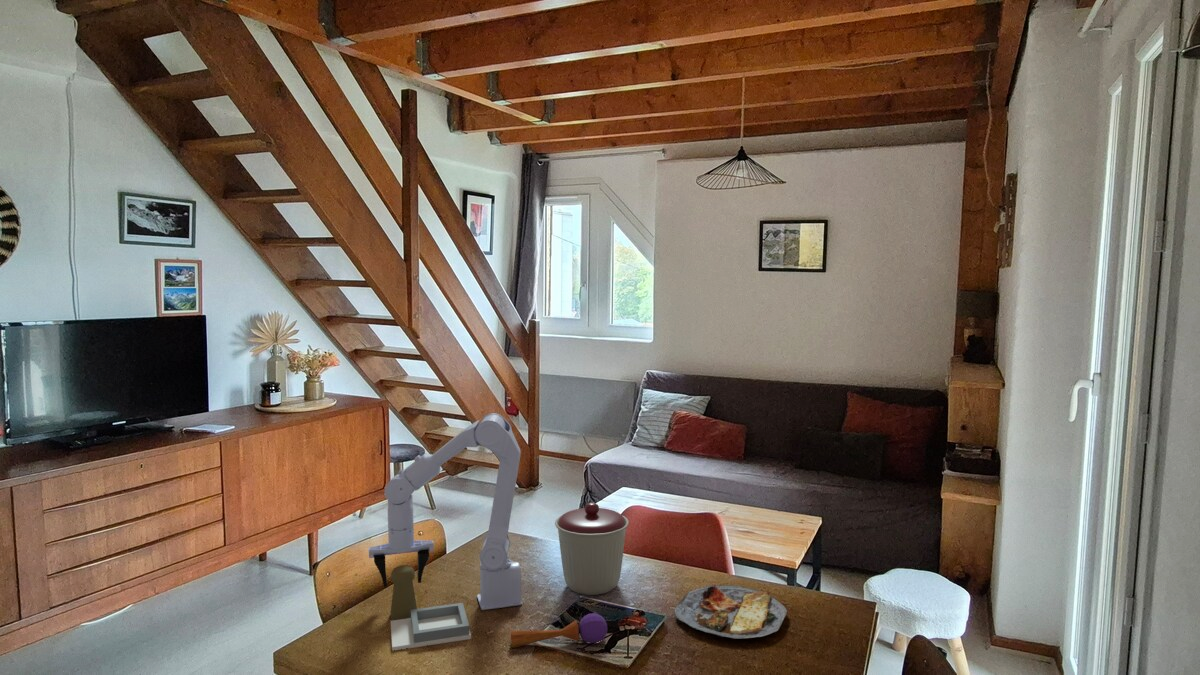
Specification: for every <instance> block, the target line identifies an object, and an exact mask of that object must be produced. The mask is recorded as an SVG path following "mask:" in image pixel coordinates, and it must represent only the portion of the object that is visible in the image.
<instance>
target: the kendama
mask: <svg viewBox="0 0 1200 675" xmlns="http://www.w3.org/2000/svg"><path fill="white" fill-rule="evenodd" d="M607 634H608V623H607V621H606V620H605V618H604V617H603V616H601V615H600V614H598V613H595V612H593V613H588V614H586V615H583V617H582V618H581V620H579V624H578V621H577V619H575V620H573V621H572V622H571V623H569V624H568V625H566V626H565V627H563V628H562V629H549V630H547V629H545V630H543V629H541V630H539V629H538V630H534V629H533V630H510V641H511V642H510V643H511V649H513V648H518V647H522V646H526V645H531V644H534V643H537V642H541V641H546V640H549V639H553V638H557V637H564V638H567V639H569V640H573V641H576V642H579V640H580V637H581V640H583V641H584V642H585V641H586V642H590V643H594V642H599V641H601V640H602V641H604V639H605V638H606V637H607ZM602 641H601V642H602ZM586 642H585V643H586ZM599 643H600V642H599Z"/></svg>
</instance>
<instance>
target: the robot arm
mask: <svg viewBox="0 0 1200 675" xmlns="http://www.w3.org/2000/svg"><path fill="white" fill-rule="evenodd" d="M479 422H480V423H479ZM512 429H513V428H512V426H511V423H510V422H508V421H507V420H506V418H505V417H504V416H502V415H501V414H499V413H494V412H493V413H492V412H491V413H488V414H486V415H484V416H483V417H482V418H481V420H480V419H479V420H476V421H475V422H472V423H471V424H470V425H468V426H467V427H465V428H464V429H463V430H461V431H460V432H459V433H458V434H456V435H455V436H454V437H453V438H451V439H450V440H449V441H448V442H447V443H445V444H444V445H443V446H442V447H440V448H439V449H437V451H435V452H434V453H432V454H429V453H428V454H427V453H424V454H422V455H420V454H418V455H417V456H416V457H415V458H414V459H413V462H412V463H410V464H409V465H408V466H407V467H406V468H404V469H403V468H401V469H399V471H397V474H396V475H394V476H392V478H391V479H390V480H389V481H388V482H387V483H386V485H385V487H384V496H385V499H386V500H387V528H388V529H387V530H388V543H384V544H380V545H375V546H369V547H368V558H369V559H373V563H374V565H375V566H376V568H377V570H378V572H379V574H380V577H381V580H382V584H383V588H387V587H388V578H387V570H386V556H391V555H398V554H399V555H400V554H407V553H417V583H418V584H421V583H422V579H423V578H422V577H423V574H424V570H425V567H426V565H427V562H428V561H429V558H430V552H434V551H435V548H434V547H435V545H434V540H432V539H430V540H415V532H414V530H415V528H414V526H415V525H414V524H415V523H414V504H413V495H412V494H413V493H414V492H416V491H419V490H420V489H421V488H423V487H424V486H426V485H427V483H429V482H430V481H431V480H433V479H434V478H435V477H437V476H439V474H440V473H441V472H440V471H441V466H442V465H443V464H445V463H446V462H448V461H449V460H451V459H452V458H453V457H455V456H456V455H458V454H459V453H460V452H462V451H463V450H465V449H466V448H478V447H479V445H480V446H482V447H483V448H485V449H487V450H489V451H490V452H492V453H493V454H494V455H495V457H496V458H497V459H498V460H499V462H498V464H499V465H498V470H497V476H496V483H495V488H494V496H493V500H492V501H493V502H492V507H491V515H490V520H489V526H488V531H487V535H486V536H485V537H484V540H483V545H482V548H481V550H480V552H479V561H480V563H479V572H480V573H479V575H480V576H479V580H480V585H479V587H480V590H479V591H480V593H478V594H477V595H476V597H477V598H476V599H477V600H478V603H479V604H478V605H479V606H480V609H481V610H482V611H487V610H493V609H500V608H502V609H503V608H507V607H514V606H515V607H516V606H521V605H522V604H523V601H522V597H523V596H522V571H521V565H520V563H519V562H518V561H512V560H511V559H510V557H509V551H510V550H509V549H510V547H511V540H510V537H509V530H510V521H511V516H512V515H511V514H512V510H513V503H514V497H515V493H516V492H515V490H516V485H517V478H518V472H519V466H520V459H521V455H522V454H521V452H522V450H521V448H520V446H519V444H518V441H517V439H516V437H515V435H514V433H513V430H512Z"/></svg>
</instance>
